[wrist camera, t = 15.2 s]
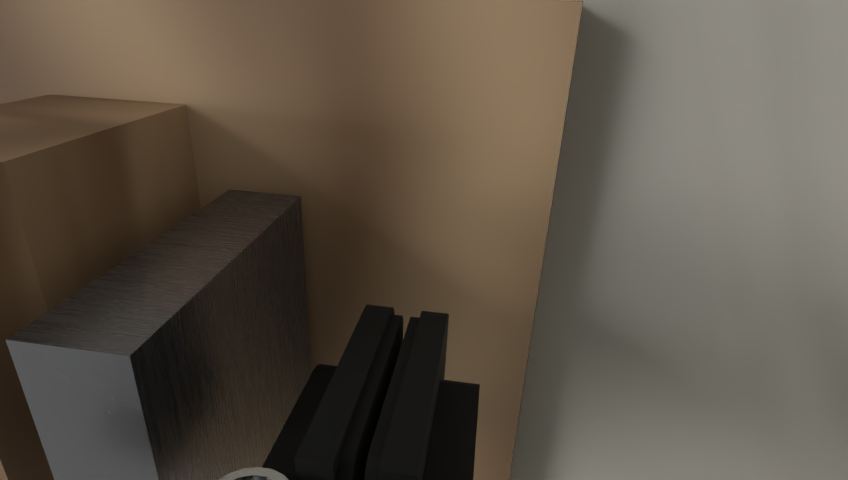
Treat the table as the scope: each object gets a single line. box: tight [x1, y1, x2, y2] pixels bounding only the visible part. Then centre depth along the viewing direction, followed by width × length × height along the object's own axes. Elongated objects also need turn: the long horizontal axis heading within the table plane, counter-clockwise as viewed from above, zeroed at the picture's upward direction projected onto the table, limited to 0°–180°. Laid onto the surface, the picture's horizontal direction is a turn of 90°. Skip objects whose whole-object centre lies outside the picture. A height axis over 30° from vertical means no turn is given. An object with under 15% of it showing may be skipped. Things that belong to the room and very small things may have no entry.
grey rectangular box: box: [6, 190, 311, 480], centre depth 10 cm, size 11×6×6 cm, turn 87°
